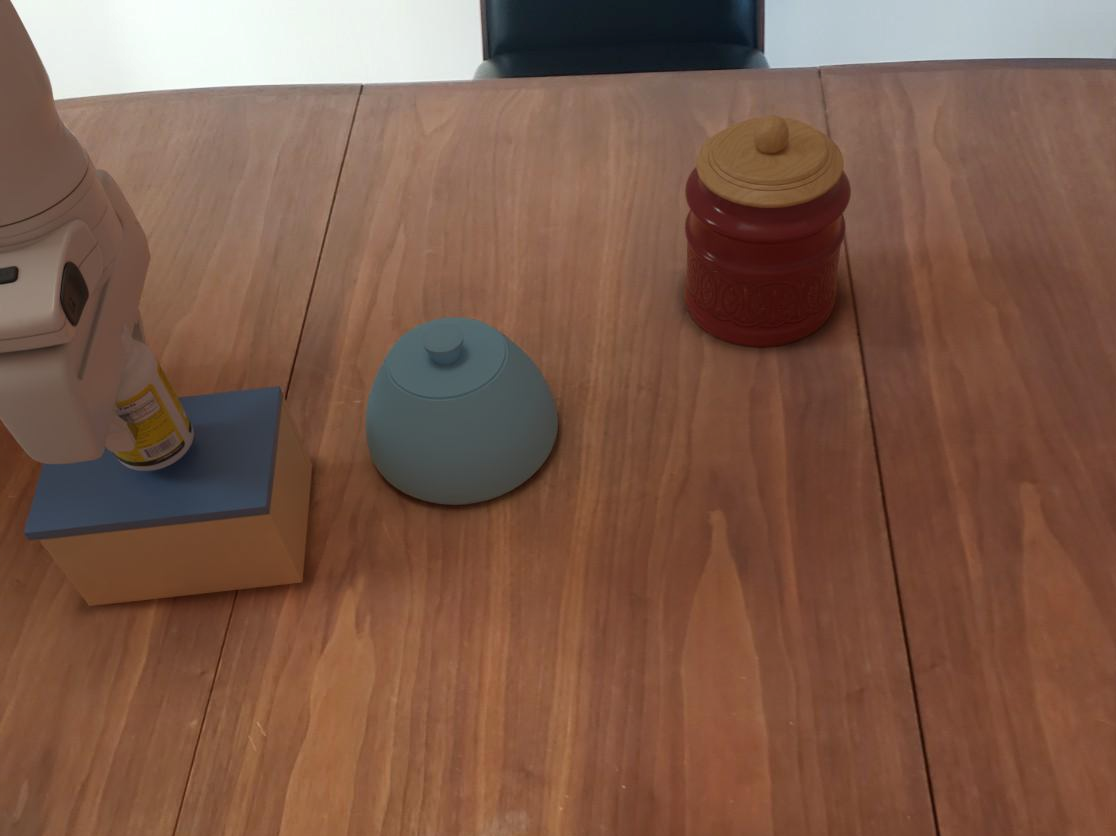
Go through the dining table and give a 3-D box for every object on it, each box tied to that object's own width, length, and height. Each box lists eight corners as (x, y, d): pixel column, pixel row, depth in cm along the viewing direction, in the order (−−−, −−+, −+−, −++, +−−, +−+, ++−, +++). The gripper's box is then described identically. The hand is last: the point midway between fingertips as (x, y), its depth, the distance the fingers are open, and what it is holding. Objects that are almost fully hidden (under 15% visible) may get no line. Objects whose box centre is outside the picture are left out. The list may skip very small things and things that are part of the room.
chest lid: (28, 540, 72) (22, 533, 72) (63, 418, 79) (57, 410, 78) (269, 514, 72) (266, 506, 72) (283, 393, 79) (279, 385, 78)
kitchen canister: (727, 377, 90) (737, 188, 76) (659, 288, 97) (656, 101, 83) (862, 328, 92) (896, 136, 78) (786, 245, 100) (804, 56, 85)
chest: (96, 615, 79) (38, 540, 72) (122, 497, 86) (71, 417, 79) (306, 591, 79) (270, 514, 72) (316, 475, 86) (283, 394, 79)
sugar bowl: (436, 364, 93) (409, 251, 84) (591, 412, 89) (581, 298, 79) (338, 484, 85) (296, 374, 76) (503, 543, 81) (480, 434, 72)
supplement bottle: (138, 413, 76) (75, 301, 68) (208, 421, 75) (152, 309, 67) (102, 469, 73) (32, 359, 65) (175, 478, 72) (113, 368, 64)
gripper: (17, 129, 66) (113, 310, 77) (-74, 354, 54) (55, 529, 65) (119, 118, 66) (200, 300, 77) (51, 341, 54) (158, 518, 65)
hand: (133, 407), depth 71 cm, fingers closed on supplement bottle, 5 cm apart
